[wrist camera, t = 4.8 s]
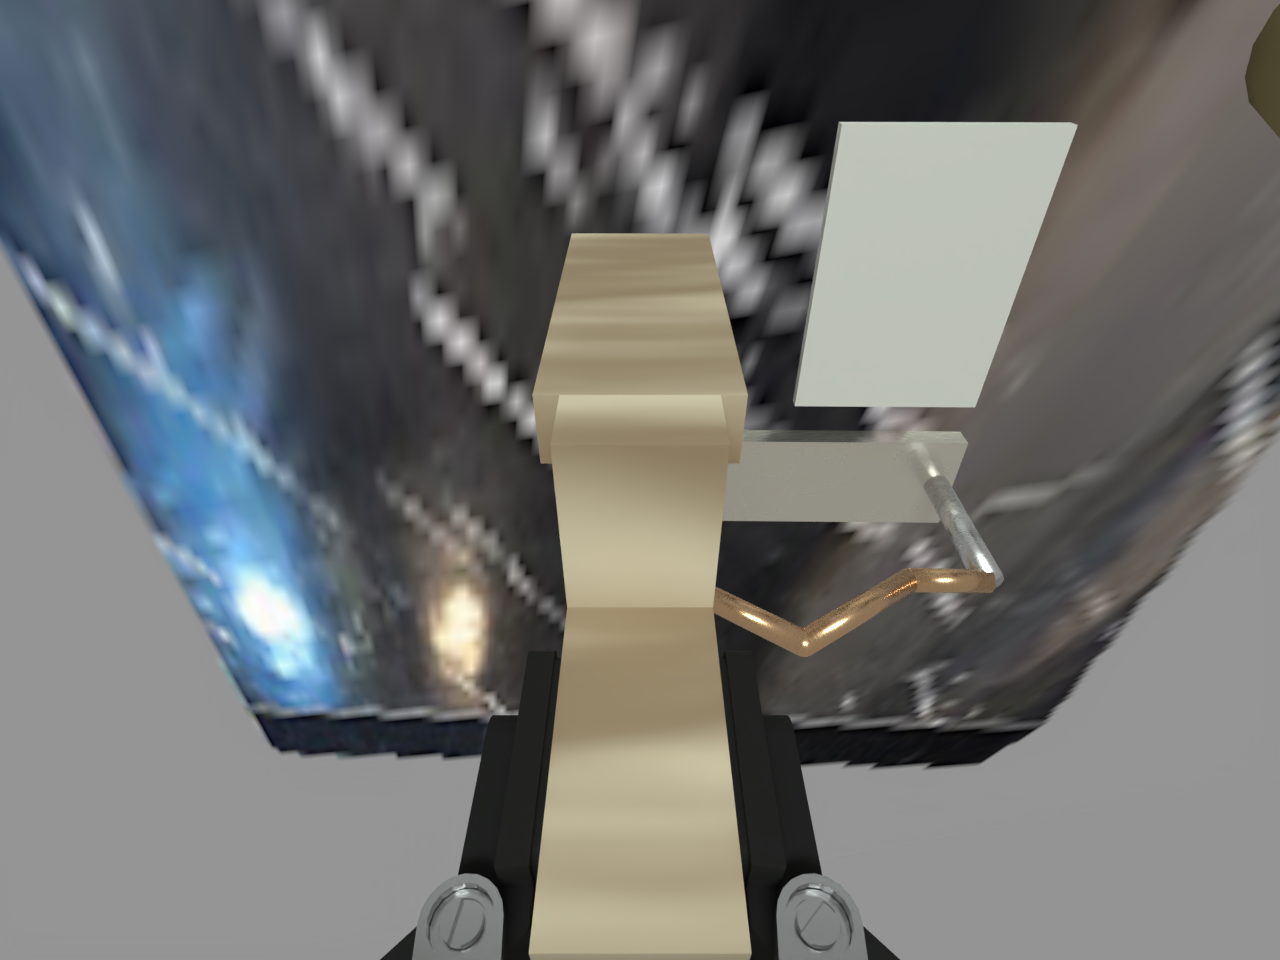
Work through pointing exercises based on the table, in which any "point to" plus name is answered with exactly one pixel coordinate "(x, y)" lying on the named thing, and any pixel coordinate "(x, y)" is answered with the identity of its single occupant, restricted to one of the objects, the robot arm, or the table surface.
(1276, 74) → the squeeze bottle
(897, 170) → the pad
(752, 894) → the robot arm
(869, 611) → the wire
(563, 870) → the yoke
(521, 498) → the table surface
